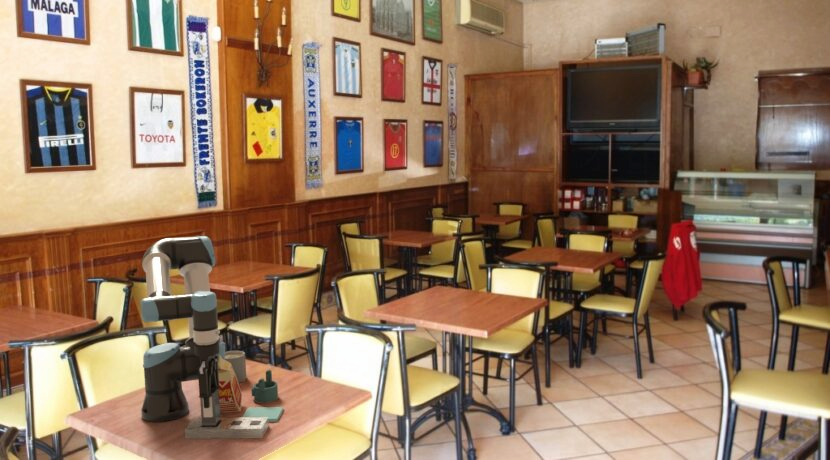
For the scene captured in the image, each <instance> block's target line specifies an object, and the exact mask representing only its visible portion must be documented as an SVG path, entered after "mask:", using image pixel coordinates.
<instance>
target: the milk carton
mask: <svg viewBox="0 0 830 460" xmlns="http://www.w3.org/2000/svg"><path fill="white" fill-rule="evenodd" d="M218 375H219V386H217V387H220V389H219V403H220V414H221V413H235V412H239V413H240V412H241V411H242V398H243V393H242V390H241V387H240V384H239V383H238V381H237V378H236V375H235V372H234V370H233V367H232V365H231V363H229V362H228V361H226V360H224V359H222V357H221V355H220V356H219V360H218Z"/></svg>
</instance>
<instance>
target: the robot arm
mask: <svg viewBox="0 0 830 460" xmlns="http://www.w3.org/2000/svg"><path fill="white" fill-rule="evenodd" d="M142 256H143V257H142V259H141V260H142V262H141V264H142V265H141V266H142V269H143V272H145V281H146V282H145V283H146V298H142V299H141V300H140V307H141V319H142V321H143V322H144V323H149V322H151V323H153V322H154V323H157V322H162V321H170V320H179V319H187V326H188V338H187V339H186V340H185V343H184V344H185V346H180V343H177V342H166V343H162V344H158V345H155V346H152V347H149V349H147V350H145V352H144V354H143V358H142V360H143V364H142V368H143V375H144V390H145V394H144V395H145V396H144V399H143V404H142V407H141V412H140V413H141V418H142V419H143V420H144V421H147V422H152V423H160V422H168V421H173V420H176V419H179V418H182V417H183V416H185V415H187V413H189V410H190V409H189V402H188V400H187V397H186V395H185V393H184V391H183V385H182V382H188V381H189V382H190V381H197V380H198V392H199V396H198V398H203V414H204V417H213V407H212V396H211V388H219V389H220V387H217V386H219V375H218V360H219V356H220V355H221V357H222V359H224V360H225V352H226V343H225V342H223V341H221V338H220V336H219V334H220V333H221V331H220V330H219V322H218V321H219V320H218V319H219V318H218V302H217V301H218V300H217V294H216V293H215V292H213V291H211V287H210V278H209V274H210V273H211V272H212V270H213V267H215V265H216V256H215V250H214V246H213V242H212V240H211V239H210V237H209V236H206V235H203V236H202V235H201V236H200V235H195V236H182V237H167V238H163V239H159V240H158V241H156V242H154V243H153V244H152V245H150V247H148V249H147V250H146V251H144V255H142ZM170 270H178V273H179V275H180V276H181V277H183V280H184V281H183V283H184V292H185V293H184V294H177V295H176V294H175V295H172V287H171V277H170Z"/></svg>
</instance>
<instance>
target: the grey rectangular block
mask: <svg viewBox="0 0 830 460" xmlns="http://www.w3.org/2000/svg"><path fill="white" fill-rule="evenodd" d="M211 396H212V407H213V417H204V414H203V398H200V399H199V400H200V414H201V415H200V416H201V417H200V418H201V419H202V427H218V425H219V424H220V423H221V420H220V418H221V413H220V403H219V388H211Z"/></svg>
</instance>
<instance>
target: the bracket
mask: <svg viewBox="0 0 830 460" xmlns="http://www.w3.org/2000/svg"><path fill="white" fill-rule="evenodd" d="M272 376H273V375H272V370H271V369H267V370H266V371H265V379H264V378H263V377H261V378H259V380H258V381H257V382H256V383H254V384H253V385H252V387H250V388H251V397H254V398H253V399H254V401H255V403H259V404H260V403H261V404H262V403H264V404H267V403H272V402H275V401H276V400H278V399H279V393H278V392H279V391H278V389H279V388H278V382H277V381H275V380H274V381H273V377H272Z"/></svg>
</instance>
